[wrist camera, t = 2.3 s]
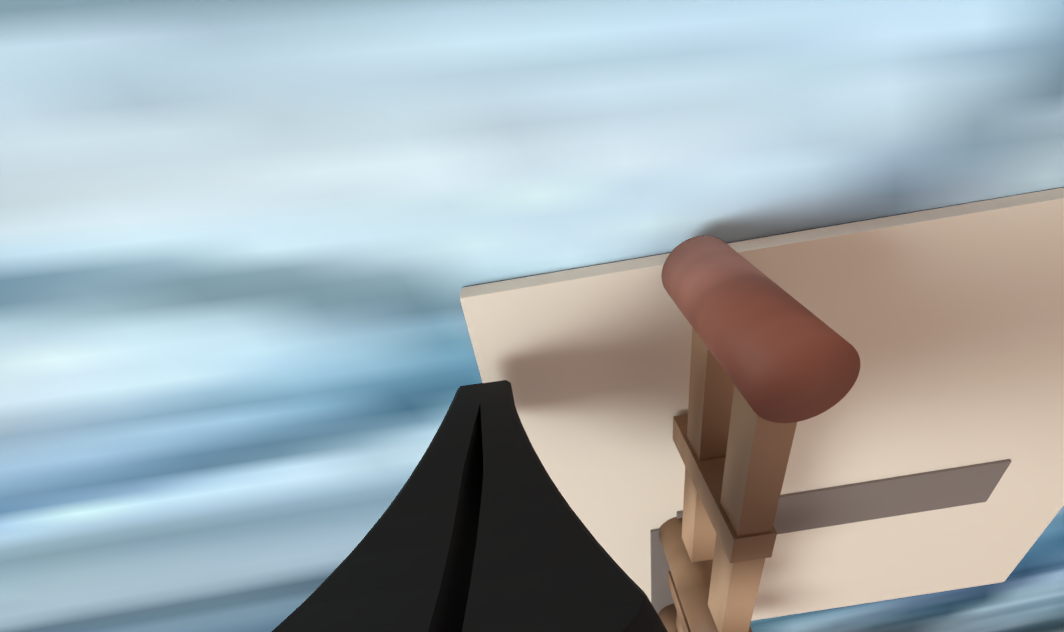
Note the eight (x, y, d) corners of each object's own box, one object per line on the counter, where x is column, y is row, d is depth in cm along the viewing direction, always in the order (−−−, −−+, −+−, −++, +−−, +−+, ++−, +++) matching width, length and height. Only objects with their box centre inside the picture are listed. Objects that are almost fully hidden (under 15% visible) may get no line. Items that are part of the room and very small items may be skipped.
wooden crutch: (708, 509, 16) (773, 649, 12) (659, 517, 16) (710, 659, 12) (736, 229, 10) (873, 327, 7) (661, 242, 10) (755, 347, 7)
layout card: (991, 569, 22) (1005, 584, 21) (553, 636, 22) (554, 653, 21) (1300, 148, 11) (1345, 153, 11) (461, 287, 12) (459, 300, 11)
